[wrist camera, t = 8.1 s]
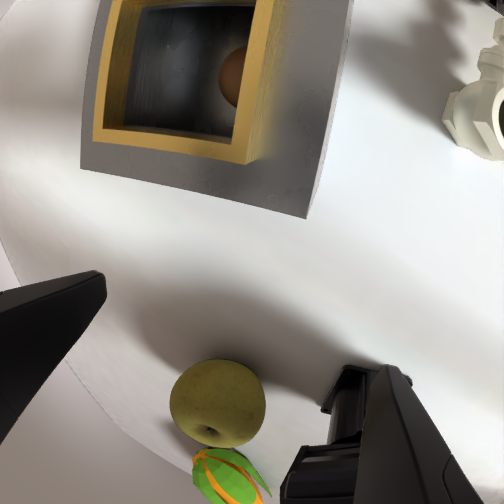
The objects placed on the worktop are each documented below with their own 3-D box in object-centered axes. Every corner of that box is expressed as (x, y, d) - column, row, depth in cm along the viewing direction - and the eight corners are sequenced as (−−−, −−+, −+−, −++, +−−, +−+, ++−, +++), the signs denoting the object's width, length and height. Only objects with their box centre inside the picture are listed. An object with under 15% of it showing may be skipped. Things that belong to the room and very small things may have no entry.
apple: (279, 403, 27) (259, 464, 21) (203, 393, 29) (174, 445, 23) (270, 345, 24) (244, 414, 18) (183, 337, 26) (143, 393, 20)
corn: (216, 488, 25) (273, 534, 31) (242, 437, 31) (288, 496, 37) (166, 473, 28) (232, 525, 34) (193, 430, 35) (248, 490, 40)
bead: (252, 112, 17) (300, 121, 15) (199, 106, 15) (243, 112, 12) (262, 54, 16) (312, 54, 13) (210, 40, 13) (258, 33, 11)
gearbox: (318, 185, 18) (300, 232, 11) (146, 150, 20) (60, 175, 13) (356, -23, 12) (358, -97, 4) (177, -29, 14) (104, -71, 7)
